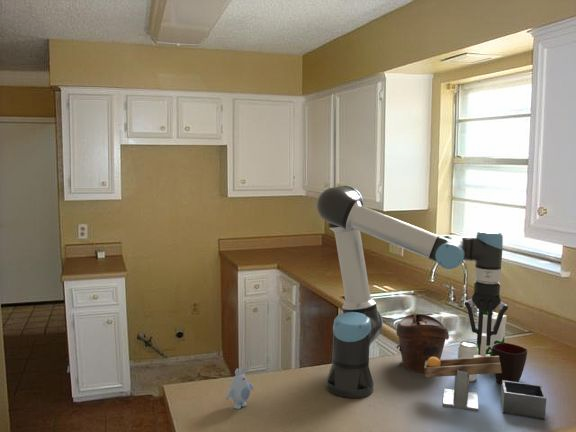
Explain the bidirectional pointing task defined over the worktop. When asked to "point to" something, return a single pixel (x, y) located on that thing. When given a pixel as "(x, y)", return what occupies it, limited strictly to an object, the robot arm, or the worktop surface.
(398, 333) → the case
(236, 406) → the toy figure
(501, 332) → the milk carton
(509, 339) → the worktop surface
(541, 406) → the tin
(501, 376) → the cup
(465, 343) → the can
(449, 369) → the lever
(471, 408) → the stand
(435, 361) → the ball
